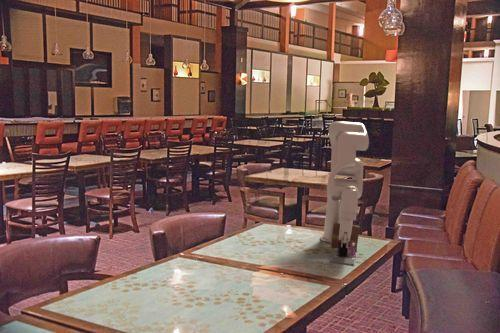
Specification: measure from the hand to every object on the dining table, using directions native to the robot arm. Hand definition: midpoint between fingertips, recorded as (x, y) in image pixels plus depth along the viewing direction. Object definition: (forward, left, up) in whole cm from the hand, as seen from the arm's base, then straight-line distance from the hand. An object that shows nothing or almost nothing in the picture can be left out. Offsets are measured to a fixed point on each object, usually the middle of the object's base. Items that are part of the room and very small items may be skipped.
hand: (343, 254), depth 234 cm
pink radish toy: (0, +1, -1) cm, 1 cm away
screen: (-11, 0, -1) cm, 12 cm away
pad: (+9, 0, -1) cm, 9 cm away
